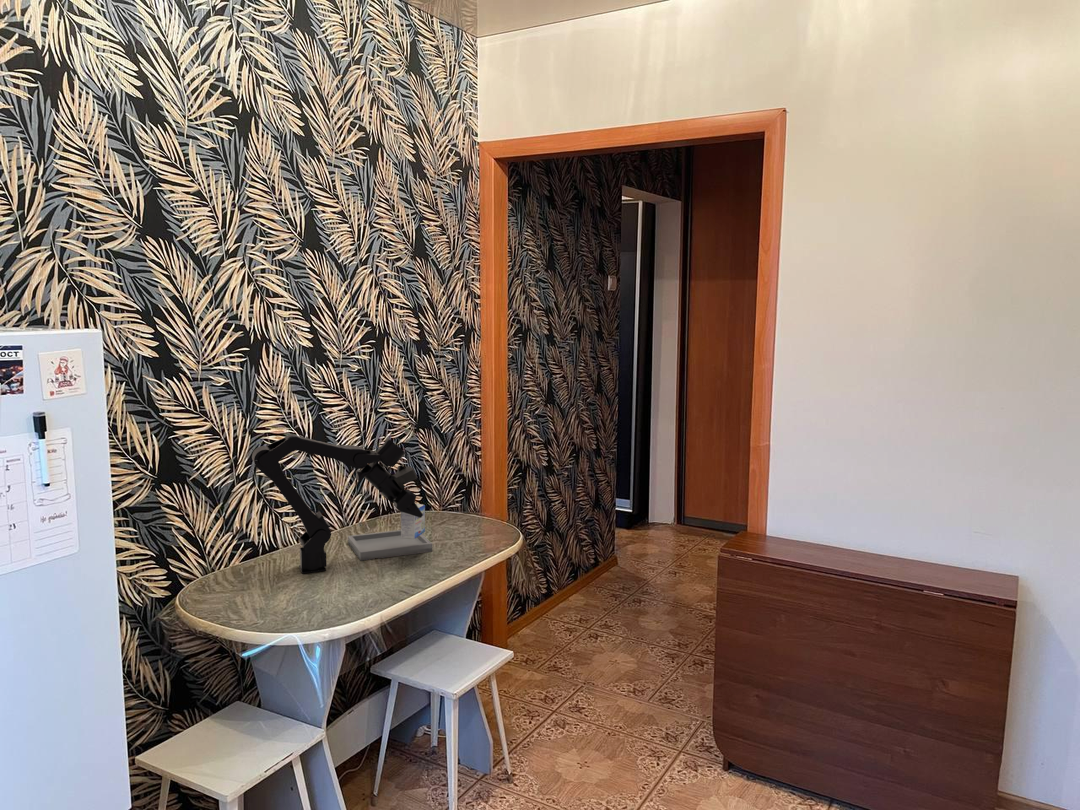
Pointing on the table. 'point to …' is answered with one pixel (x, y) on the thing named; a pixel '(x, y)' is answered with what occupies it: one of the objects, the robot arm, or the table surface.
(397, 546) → the tray
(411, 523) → the medicine box
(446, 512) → the table surface
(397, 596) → the table surface
